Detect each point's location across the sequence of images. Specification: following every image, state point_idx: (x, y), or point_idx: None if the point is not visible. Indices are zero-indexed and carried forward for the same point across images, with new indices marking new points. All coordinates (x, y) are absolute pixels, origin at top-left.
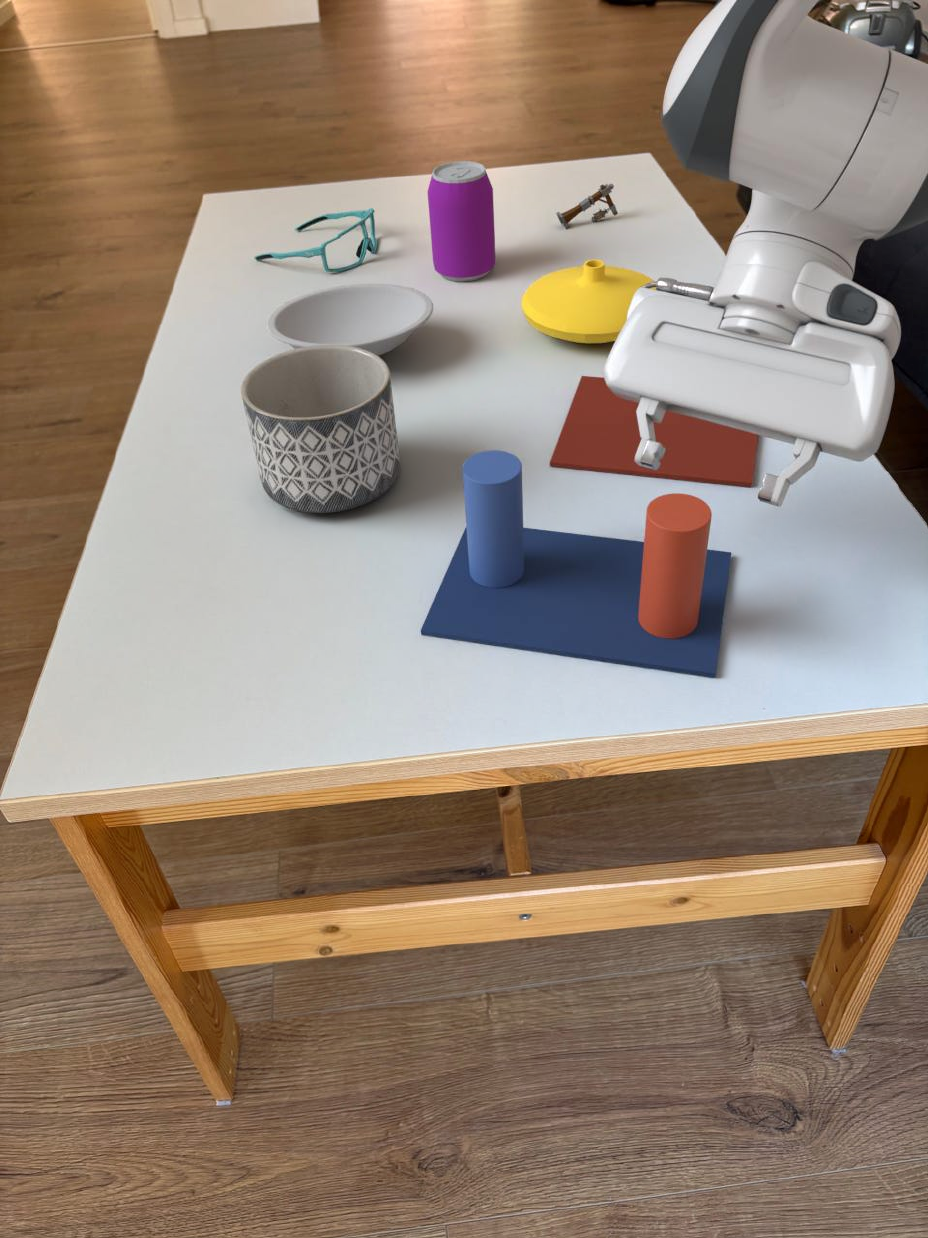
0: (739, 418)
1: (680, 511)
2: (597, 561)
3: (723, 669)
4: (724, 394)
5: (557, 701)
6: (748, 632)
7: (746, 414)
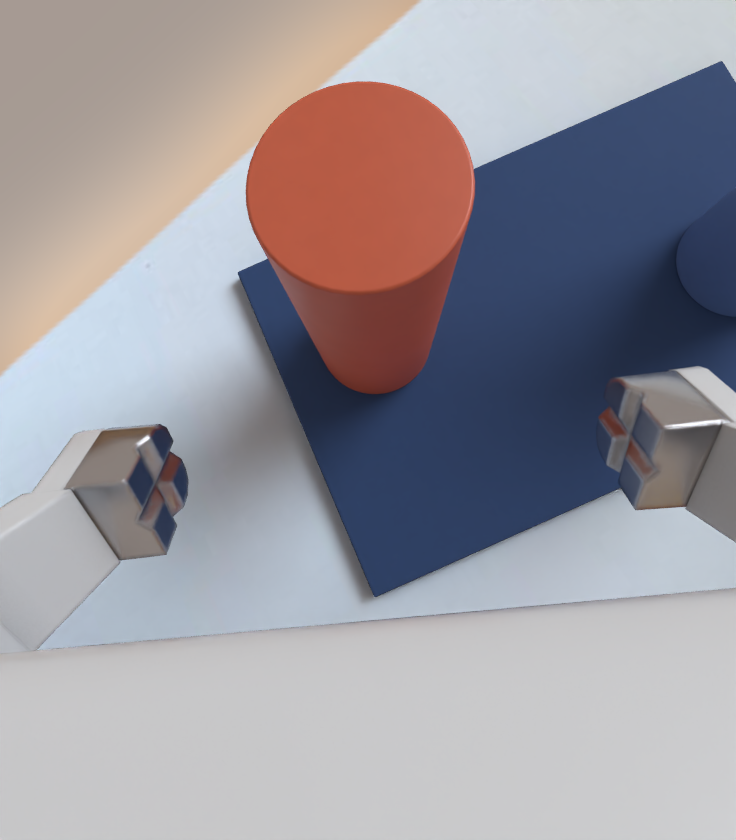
0: (286, 628)
1: (354, 185)
2: (586, 404)
3: (239, 304)
4: (500, 780)
5: (423, 92)
6: (244, 410)
7: (232, 666)
